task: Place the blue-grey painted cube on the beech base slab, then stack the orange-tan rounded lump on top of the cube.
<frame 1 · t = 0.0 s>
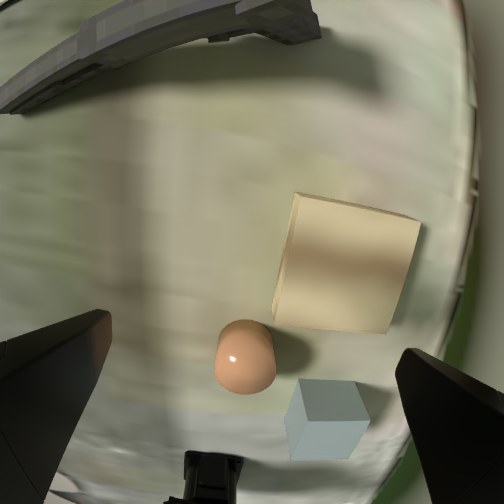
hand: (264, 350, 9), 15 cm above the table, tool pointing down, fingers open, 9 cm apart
orange-tan rounded lump: (245, 342, 26), on the table
handgun: (142, 57, 19), on the table
beech slab: (340, 261, 24), on the table
blue-grey cube: (318, 400, 28), on the table
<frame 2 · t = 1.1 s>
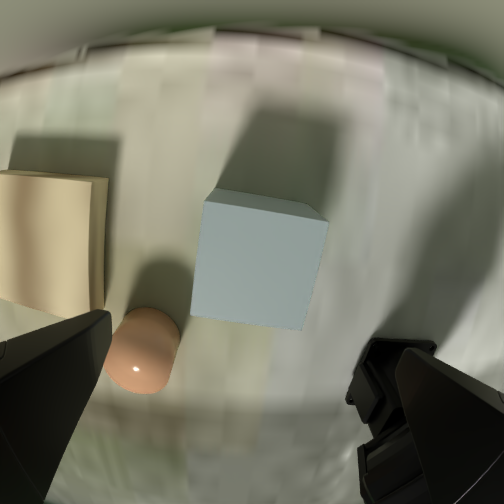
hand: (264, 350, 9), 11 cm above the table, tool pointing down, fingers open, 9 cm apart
orange-tan rounded lump: (150, 334, 21), on the table
beech slab: (50, 237, 19), on the table
blue-grey cube: (252, 239, 20), on the table
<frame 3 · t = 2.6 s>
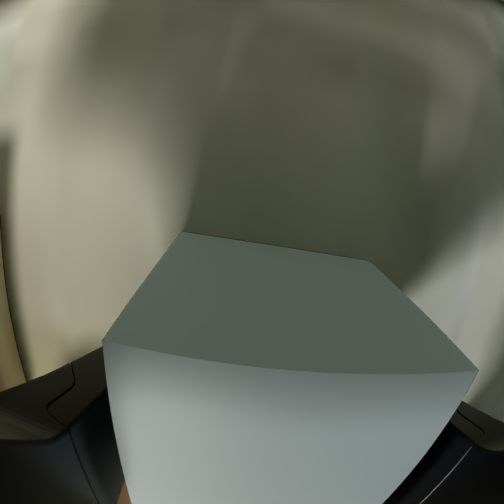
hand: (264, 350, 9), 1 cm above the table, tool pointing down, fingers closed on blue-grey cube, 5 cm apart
blue-grey cube: (262, 331, 10), on the table, touching gripper
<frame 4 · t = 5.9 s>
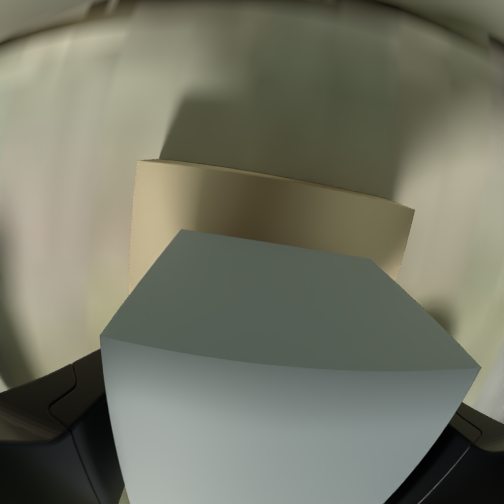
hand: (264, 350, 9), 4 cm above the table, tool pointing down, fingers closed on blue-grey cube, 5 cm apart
beech slab: (256, 287, 13), on the table
blue-grey cube: (262, 330, 10), point 3 cm above the table, touching gripper
when the fingers open (4 cm above the table, at t = 6.1 s): blue-grey cube stays where it is, resting on beech slab.
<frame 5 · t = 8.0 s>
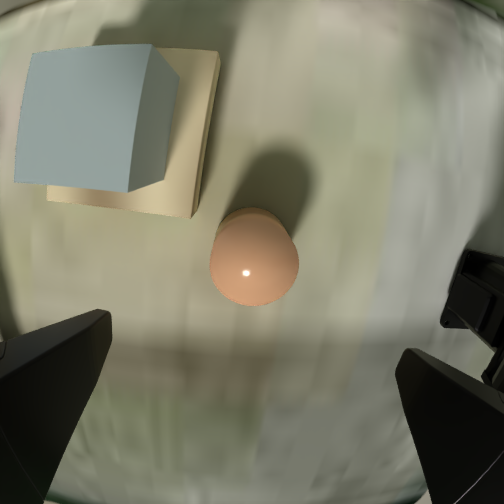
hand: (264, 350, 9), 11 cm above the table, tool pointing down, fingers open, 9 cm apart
orange-tan rounded lump: (251, 242, 20), on the table
beech slab: (135, 128, 17), on the table
blue-grey cube: (121, 124, 15), point 2 cm above the table, touching beech slab
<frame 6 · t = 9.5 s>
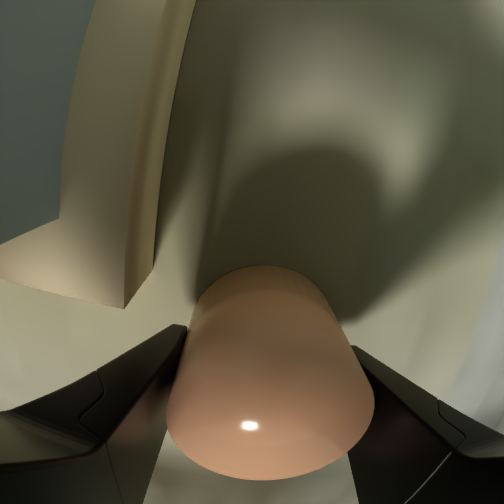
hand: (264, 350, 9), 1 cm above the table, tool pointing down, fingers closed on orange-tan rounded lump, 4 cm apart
orange-tan rounded lump: (262, 332, 10), on the table, touching gripper
beech slab: (38, 108, 7), on the table
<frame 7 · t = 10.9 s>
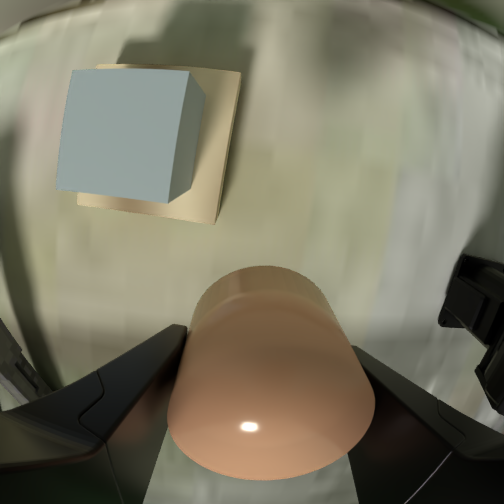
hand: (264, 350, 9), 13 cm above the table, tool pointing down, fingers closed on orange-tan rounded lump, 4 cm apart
orange-tan rounded lump: (262, 332, 10), point 12 cm above the table, touching gripper
handgun: (23, 324, 24), on the table
beech slab: (161, 139, 19), on the table
blue-grey cube: (151, 136, 17), point 2 cm above the table, touching beech slab
when the fingers open (10 cm above the table, at t = 12.3 s): orange-tan rounded lump drops 1 cm, resting on blue-grey cube.
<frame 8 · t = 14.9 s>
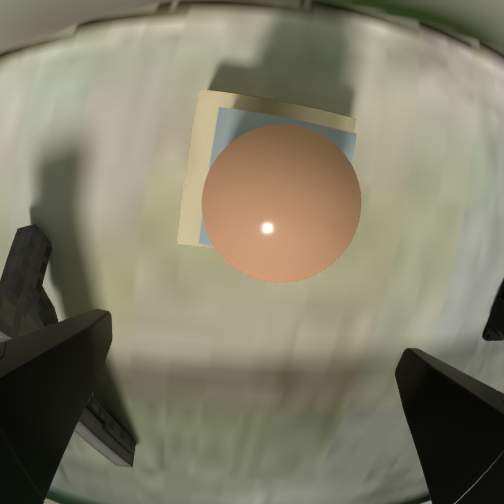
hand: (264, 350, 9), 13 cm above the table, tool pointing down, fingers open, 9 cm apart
orange-tan rounded lump: (271, 189, 12), point 8 cm above the table, touching blue-grey cube
handgun: (84, 358, 24), on the table
beech slab: (263, 175, 20), on the table
blue-grey cube: (267, 177, 18), point 2 cm above the table, touching beech slab, orange-tan rounded lump
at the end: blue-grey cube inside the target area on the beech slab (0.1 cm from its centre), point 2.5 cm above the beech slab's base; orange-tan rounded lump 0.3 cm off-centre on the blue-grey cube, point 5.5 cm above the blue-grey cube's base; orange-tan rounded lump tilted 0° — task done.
